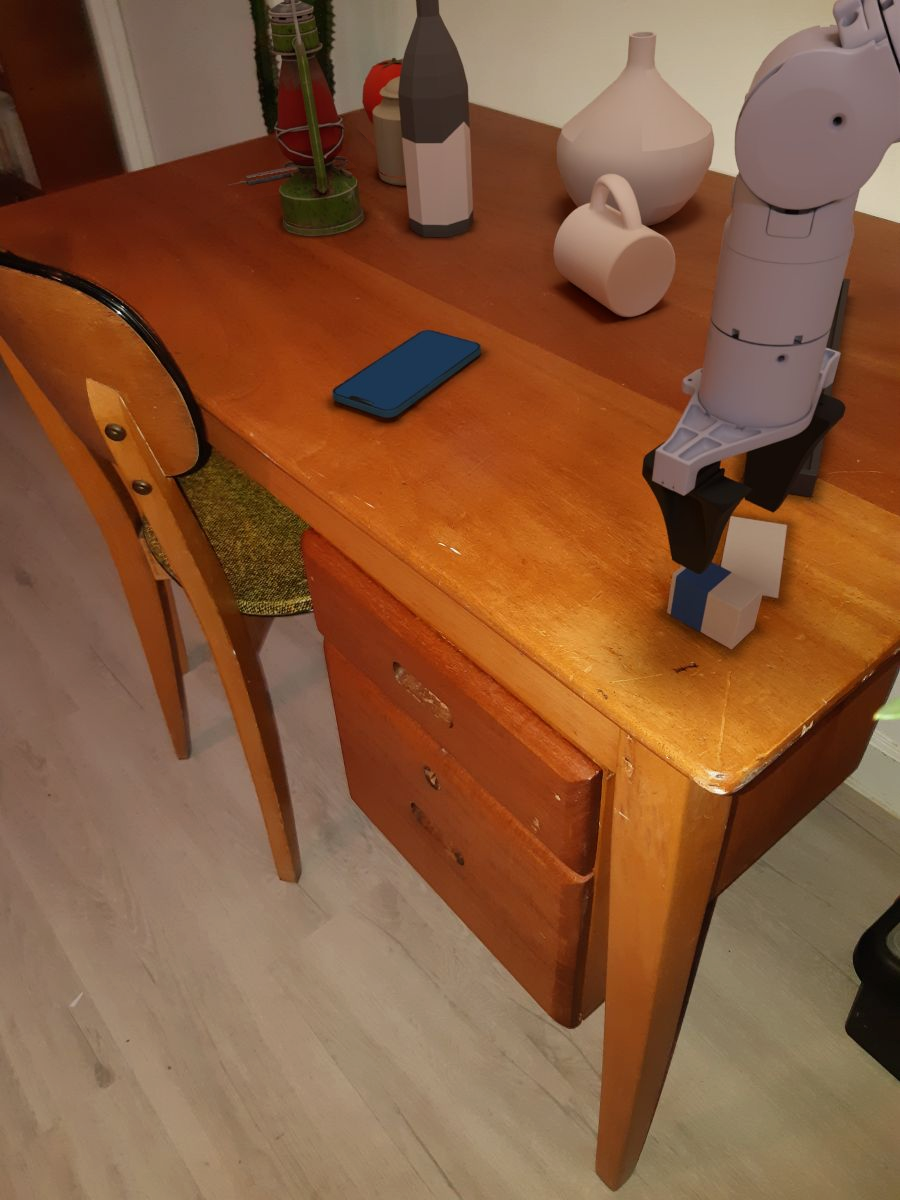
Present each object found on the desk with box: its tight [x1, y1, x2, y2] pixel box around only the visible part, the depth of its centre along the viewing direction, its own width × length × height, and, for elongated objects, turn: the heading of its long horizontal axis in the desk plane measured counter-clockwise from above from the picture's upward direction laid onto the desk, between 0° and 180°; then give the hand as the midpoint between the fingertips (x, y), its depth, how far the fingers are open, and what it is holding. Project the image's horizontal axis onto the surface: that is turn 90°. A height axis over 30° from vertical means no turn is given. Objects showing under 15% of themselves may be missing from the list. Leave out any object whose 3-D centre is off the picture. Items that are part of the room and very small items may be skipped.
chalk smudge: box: [720, 515, 788, 599], centre depth 62 cm, size 8×4×1 cm, turn 161°
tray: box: [741, 278, 851, 498], centre depth 78 cm, size 35×5×2 cm, turn 158°
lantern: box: [268, 0, 365, 237], centre depth 104 cm, size 14×11×30 cm
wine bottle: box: [398, 0, 474, 239], centre depth 100 cm, size 8×8×30 cm
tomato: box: [361, 57, 403, 125], centre depth 138 cm, size 11×13×10 cm
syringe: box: [229, 158, 349, 187], centre depth 126 cm, size 8×18×2 cm, turn 115°
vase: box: [556, 31, 715, 227], centre depth 103 cm, size 18×18×19 cm
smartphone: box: [331, 329, 482, 419], centre depth 83 cm, size 7×1×15 cm
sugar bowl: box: [372, 56, 407, 187], centre depth 121 cm, size 15×11×15 cm
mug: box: [552, 174, 677, 318], centre depth 89 cm, size 8×10×12 cm
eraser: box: [666, 561, 764, 650], centre depth 57 cm, size 5×3×4 cm, turn 44°
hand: (726, 533), depth 53 cm, fingers open, 7 cm apart
